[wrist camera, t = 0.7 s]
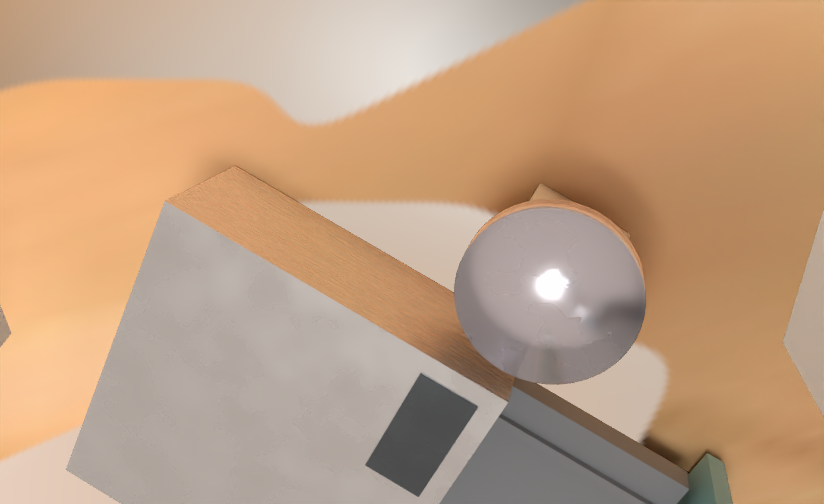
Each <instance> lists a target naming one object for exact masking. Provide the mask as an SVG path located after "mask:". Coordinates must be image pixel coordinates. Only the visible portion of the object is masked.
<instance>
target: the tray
mask: <svg viewBox="0 0 824 504" xmlns="http://www.w3.org/2000/svg"><path fill="white" fill-rule="evenodd" d="M439 504H733V502H732V497H731V493H730V488H729V483H728V478H727V474H726V469H725V464H724V462H722V461H720V460H719V459H717V458H715V457H714V456H712V455H710V454H708V453H706V455H705V456H704V457H703V458H702V459H701V460H700V462H699V463H698V464H697V465H696V466H695V467H694V468H693V470H692V471H691V472H690V473H689V474H687V471H686V470H684V469H682V468H681V467H679V466H677V465H675V464H674V463H672V462H670V461H669V460H667V459H665V458H663V457H662V456H660V455H658V454H657V453H655V452H653V451H651V450H650V449H648V448H646V447H645V446H643V445H641V444H639V443H638V442H636V441H634V440H633V439H631V438H629V437H627V436H625V435H624V434H622V433H621V432H619V431H617V430H615V429H614V428H612V427H610V426H609V425H607V424H605V423H603V422H602V421H600V420H598V419H597V418H595V417H593V416H592V415H590V414H588V413H586V412H584V411H583V410H581V409H580V408H578V407H576V406H574V405H573V404H571V403H569V402H567V401H566V400H564V399H562V398H561V397H559V396H557V395H556V394H554V393H552V392H550V391H549V390H547V389H545V388H543V387H542V386H540V385H538V384H537V383H534V382H530V381H526V380H522V379H520V378H517V377H515V379H514V382H513V386H512V390H511V394H510V398H509V402H508V404H507V405H506V407H505V408H504V409H503V411H502V412H501V414H500V415H499V417H498V418H497V420H496V421H495V423H494V424H493V426H492V427H491V429H490V430H489V431H488V433H487V434H486V436H485V437H484V439H483V440H482V442H481V443H480V445H479V446H478V448H477V449H476V451H475V452H474V453H473V455H472V456H471V458H470V459H469V461H468V462H467V464H466V465H465V467H464V468H463V470H462V471H461V472H460V474H459V475H458V477H457V478H456V480H455V481H454V483H453V484H452V486H451V487H450V489H449V490H448V492H447V493H446V494H445V496H444V497H443V499H442V500H441V502H440V503H439Z"/></svg>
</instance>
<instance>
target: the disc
mask: <svg viewBox="0 0 824 504" xmlns="http://www.w3.org/2000/svg"><path fill="white" fill-rule="evenodd" d="M454 300H455V308H456V312H457V316H458V319H459V322H460V324H461V327H462V329H463V331H464V333H465V334H466V336H467V338H468V339H469V341H470V342H471V344H472V345H473V346H474V348H475V349H476V350H477V351H478V352H479V353H480V354H481V355H482V356H483V357H484V358H485V359H486V360H488V361H489V362H490V363H491V364H493V365H494V366H496V367H497V368H499V369H500V370H502V371H504V372H506V373H508V374H510V375H512V376H514V377H517V378H520V379H522V380H526V381H530V382H534V383H542V384H567V383H574V382H578V381H583V380H585V379H588V378H591V377H594V376H596V375H598V374H600V373H602V372H604V371H605V370H607V369H608V368H610V367H611V366H613V365H614V364H615V363H617V362H618V361H619V360H620V359H621V358H622V357H623V356H624V355H625V354H626V353H627V351H628V350H629V349H630V348H631V346H632V345H633V343H634V342H635V340H636V338H637V336H638V334H639V332H640V329H641V327H642V323H643V320H644V315H645V307H646V294H645V281H644V274H643V268H642V265H641V262H640V259H639V256H638V254H637V252H636V250H635V248H634V246H633V244H632V243H631V241H630V240H629V238H628V237H627V236H626V234H625V233H624V232H623V231H622V230H621V229H620V228H619V227H618V226H617V225H616V224H615V223H614V222H612V221H611V220H610V219H609V218H607V217H606V216H604V215H603V214H601V213H600V212H598V211H596V210H594V209H592V208H590V207H588V206H585V205H582V204H579V203H576V202H571V201H567V200H559V199H538V200H532V201H526V202H523V203H520V204H517V205H514V206H512V207H509V208H507V209H505V210H503V211H502V212H500V213H498V214H497V215H495V216H494V217H493V218H491V219H490V220H489V221H488V222H487V223H485V224H484V226H483V227H482V228H481V229H480V230H479V231H478V232H477V234H476V235H475V237H474V238H473V240H472V241H471V243H470V245H469V247H468V248H467V250H466V252H465V254H464V256H463V258H462V260H461V262H460V264H459V268H458V270H457V273H456V279H455V287H454Z"/></svg>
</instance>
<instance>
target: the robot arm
mask: <svg viewBox="0 0 824 504" xmlns="http://www.w3.org/2000/svg"><path fill="white" fill-rule="evenodd" d="M10 334H11V331H10V328H9V326H8V323H7V321H6V318H5V316H4V313H3V311H2V308H1V306H0V347H1V346H2V344H3V343H4V342H5V341H6V339H7V338H8V337H9V335H10ZM783 344H784V346H785V348H786V350H787V352H788V353H789V355H790V357H791V359H792V361H793V362H794V364H795V366H796V368H797V370H798V371H799V373H800V375H801V377H802V379H803V380H804V382H805V384H806V386H807V388H808V389H809V391H810V393H811V395H812V397H813V399H814V400H815V402H816V404H817V406H818V408H819V409H820V411H821V413H822V415H823V417H824V210H823V213H822V216H821V219H820V223H819V226H818V229H817V232H816V236H815V239H814V242H813V246H812V249H811V252H810V255H809V259H808V262H807V265H806V268H805V272H804V275H803V278H802V281H801V285H800V288H799V291H798V294H797V298H796V301H795V304H794V307H793V311H792V314H791V317H790V320H789V324H788V327H787V330H786V334H785V337H784V340H783Z"/></svg>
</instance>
